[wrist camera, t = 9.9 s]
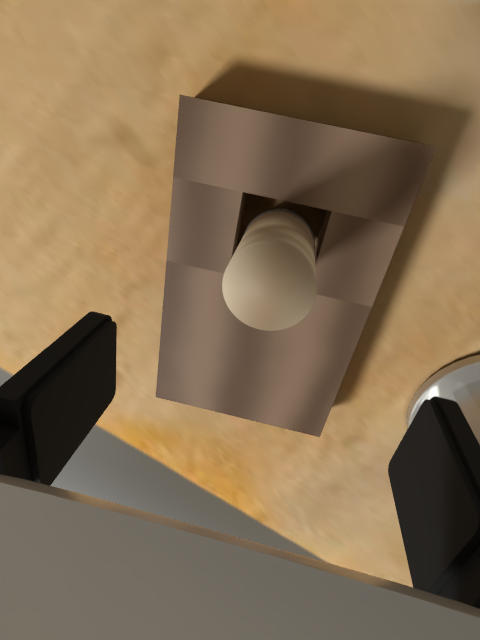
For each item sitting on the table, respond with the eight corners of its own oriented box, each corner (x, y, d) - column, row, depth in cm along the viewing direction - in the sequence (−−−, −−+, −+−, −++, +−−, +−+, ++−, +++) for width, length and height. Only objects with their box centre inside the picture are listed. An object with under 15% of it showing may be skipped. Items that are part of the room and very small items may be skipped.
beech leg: (321, 207, 25) (330, 255, 16) (304, 269, 27) (303, 340, 18) (255, 193, 25) (229, 232, 16) (243, 255, 27) (214, 320, 18)
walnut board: (420, 143, 22) (436, 146, 19) (318, 411, 33) (319, 437, 30) (194, 97, 23) (179, 94, 20) (167, 375, 34) (155, 396, 31)
